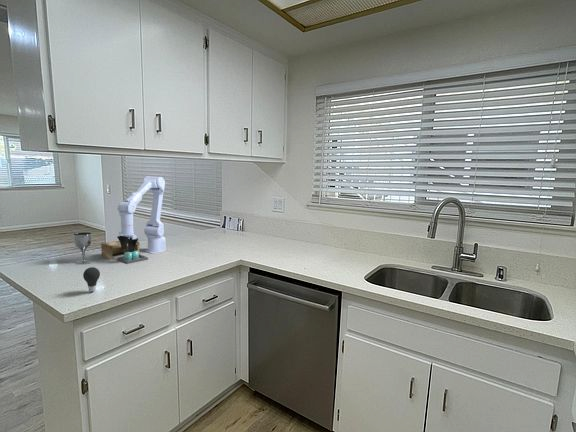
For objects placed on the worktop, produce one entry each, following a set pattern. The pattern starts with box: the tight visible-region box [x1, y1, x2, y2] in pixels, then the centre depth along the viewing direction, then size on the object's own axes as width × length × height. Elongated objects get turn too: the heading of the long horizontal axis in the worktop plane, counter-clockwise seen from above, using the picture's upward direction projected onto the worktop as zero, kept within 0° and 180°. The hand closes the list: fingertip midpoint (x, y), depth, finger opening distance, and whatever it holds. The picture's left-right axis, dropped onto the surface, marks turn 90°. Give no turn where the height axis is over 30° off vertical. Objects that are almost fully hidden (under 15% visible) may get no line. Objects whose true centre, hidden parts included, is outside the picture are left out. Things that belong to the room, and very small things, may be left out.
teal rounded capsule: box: [123, 252, 132, 261], centre depth 166 cm, size 4×4×4 cm
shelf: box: [100, 240, 141, 260], centre depth 175 cm, size 16×10×7 cm, turn 143°
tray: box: [116, 254, 149, 265], centre depth 168 cm, size 11×11×2 cm
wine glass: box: [72, 231, 93, 265], centre depth 159 cm, size 8×8×15 cm
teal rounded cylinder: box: [132, 251, 140, 260], centre depth 169 cm, size 4×4×4 cm
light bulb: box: [82, 266, 101, 293], centre depth 124 cm, size 6×6×10 cm
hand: (128, 250), depth 166 cm, fingers open, 7 cm apart
